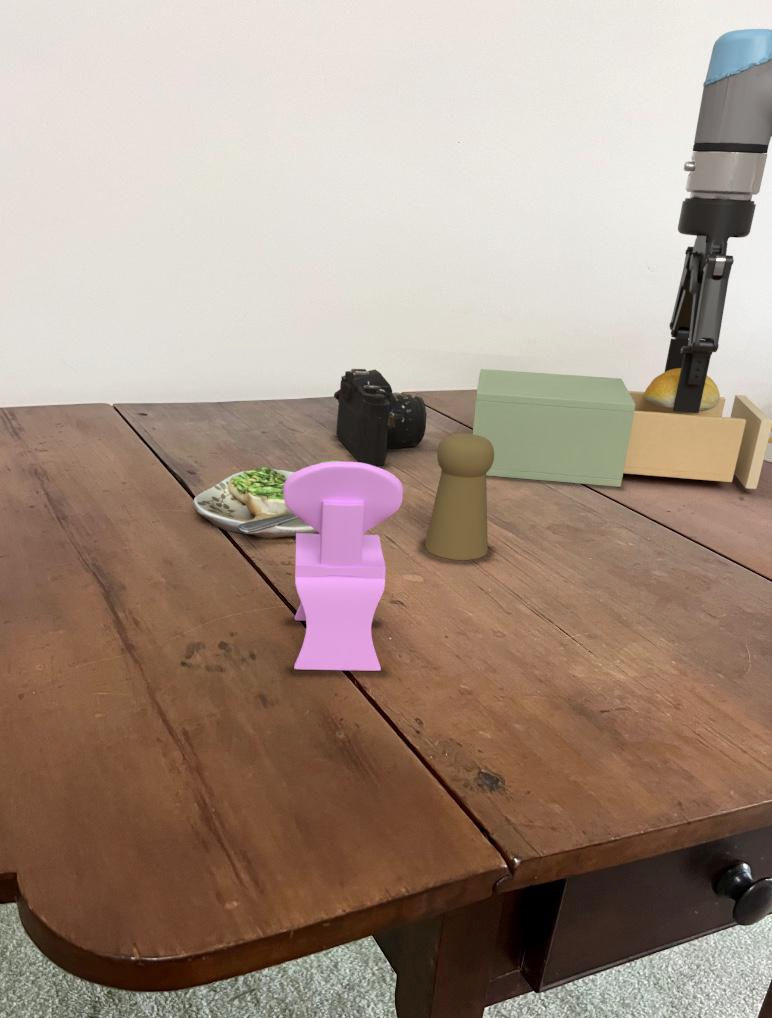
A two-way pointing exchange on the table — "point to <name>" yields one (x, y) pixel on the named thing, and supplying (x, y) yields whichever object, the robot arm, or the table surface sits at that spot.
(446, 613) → the table surface
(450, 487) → the cork
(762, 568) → the table surface
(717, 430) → the drawer
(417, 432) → the film camera
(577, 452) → the cabinet
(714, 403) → the bread roll
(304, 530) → the salad plate
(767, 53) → the robot arm
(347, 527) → the toy chair
